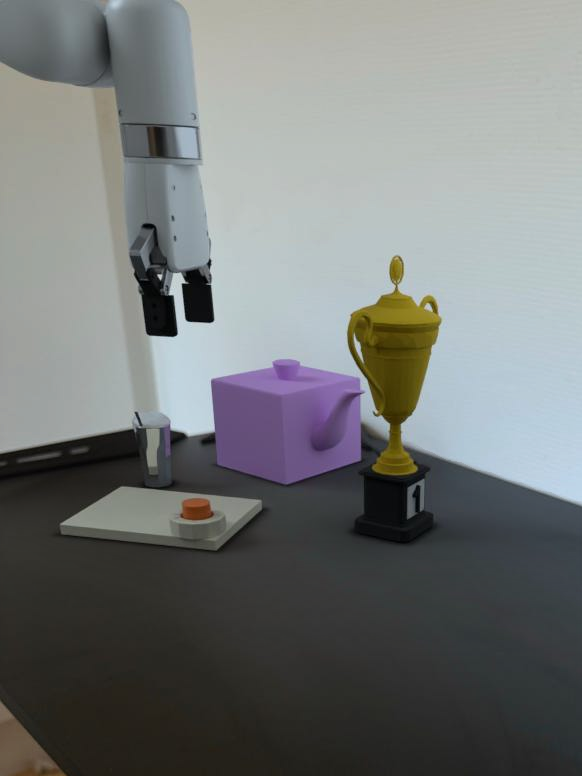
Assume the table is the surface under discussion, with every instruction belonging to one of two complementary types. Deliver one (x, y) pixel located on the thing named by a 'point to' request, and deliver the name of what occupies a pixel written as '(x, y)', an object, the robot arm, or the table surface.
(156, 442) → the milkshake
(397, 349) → the trophy
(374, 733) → the table surface
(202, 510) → the button
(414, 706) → the table surface
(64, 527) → the scale
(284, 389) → the teapot
